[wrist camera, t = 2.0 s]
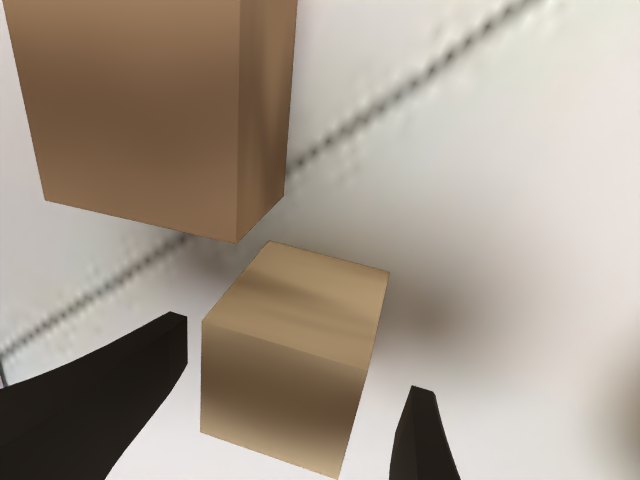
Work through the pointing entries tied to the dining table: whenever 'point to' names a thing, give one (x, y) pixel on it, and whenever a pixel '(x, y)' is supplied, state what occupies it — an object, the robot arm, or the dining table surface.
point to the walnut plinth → (159, 106)
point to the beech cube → (290, 356)
